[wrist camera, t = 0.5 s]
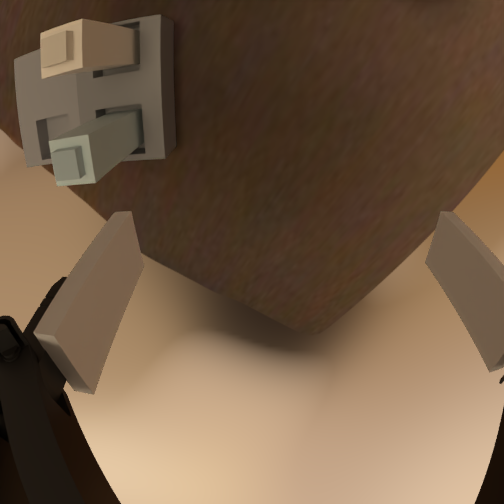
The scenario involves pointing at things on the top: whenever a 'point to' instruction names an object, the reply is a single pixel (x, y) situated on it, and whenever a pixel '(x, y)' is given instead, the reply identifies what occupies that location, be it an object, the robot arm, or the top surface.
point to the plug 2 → (96, 147)
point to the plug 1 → (87, 48)
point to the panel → (102, 95)
